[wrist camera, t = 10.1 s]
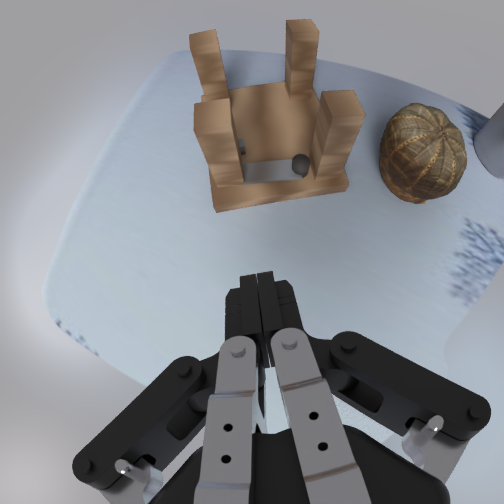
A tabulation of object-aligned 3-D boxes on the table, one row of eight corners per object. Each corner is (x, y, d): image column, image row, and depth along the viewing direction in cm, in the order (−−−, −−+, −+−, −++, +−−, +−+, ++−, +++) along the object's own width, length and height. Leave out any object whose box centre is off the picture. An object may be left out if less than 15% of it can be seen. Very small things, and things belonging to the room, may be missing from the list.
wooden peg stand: (308, 88, 38) (316, 15, 24) (345, 191, 34) (380, 123, 20) (203, 104, 38) (180, 32, 25) (216, 212, 34) (183, 150, 21)
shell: (351, 154, 35) (376, 94, 23) (410, 137, 35) (443, 85, 23) (390, 227, 32) (437, 187, 21) (447, 201, 33) (496, 162, 21)
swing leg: (306, 159, 33) (318, 91, 21) (310, 181, 32) (325, 117, 20) (217, 168, 33) (194, 103, 22) (218, 190, 32) (193, 130, 21)
